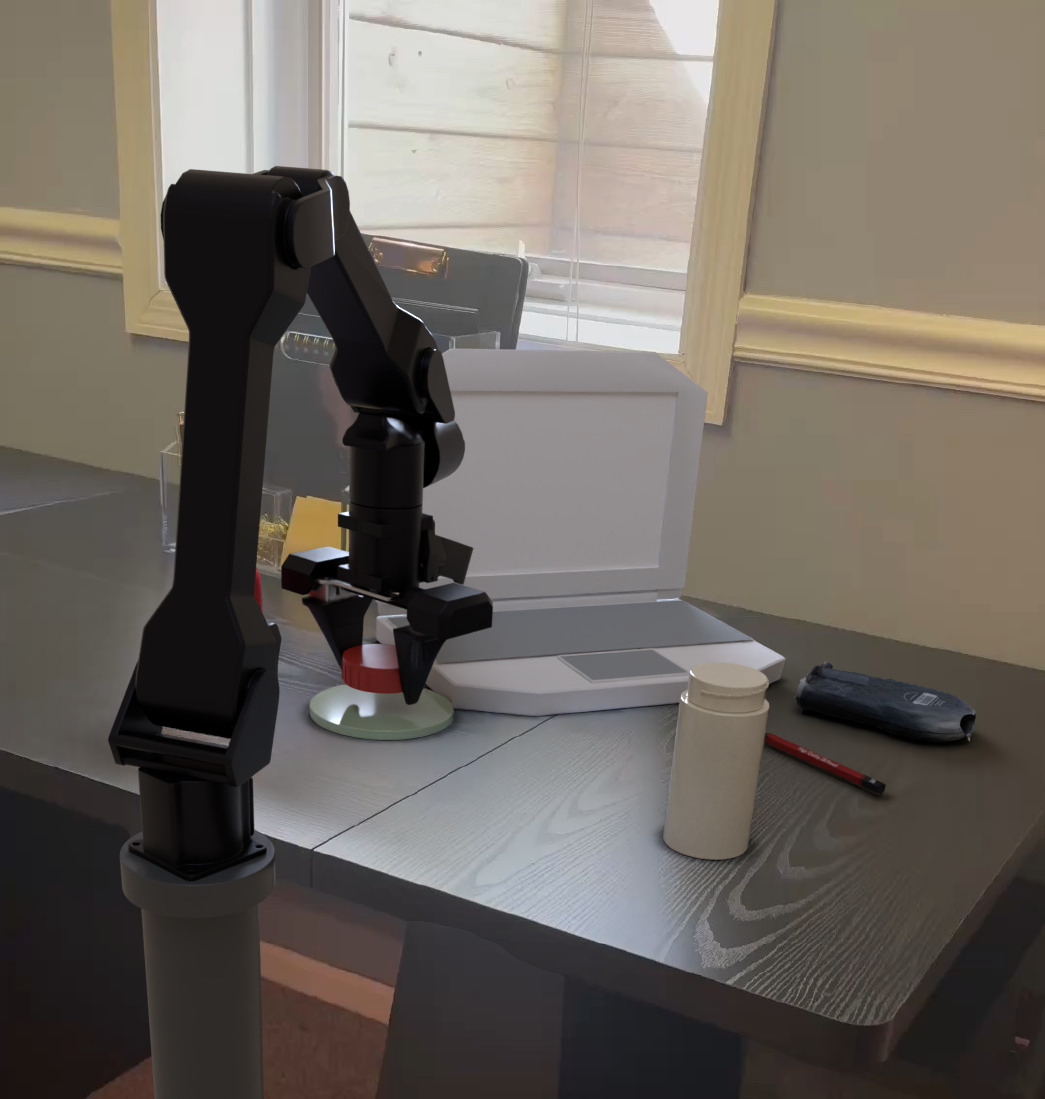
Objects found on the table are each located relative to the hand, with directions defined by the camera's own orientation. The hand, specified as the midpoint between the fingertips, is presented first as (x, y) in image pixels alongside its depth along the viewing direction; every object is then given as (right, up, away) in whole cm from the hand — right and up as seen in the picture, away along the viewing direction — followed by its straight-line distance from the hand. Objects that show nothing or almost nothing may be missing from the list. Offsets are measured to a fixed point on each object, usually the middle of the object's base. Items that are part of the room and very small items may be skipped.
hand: (382, 693), depth 118 cm
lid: (0, +2, -1) cm, 3 cm away
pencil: (+35, -6, -3) cm, 36 cm away
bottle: (+25, -13, -18) cm, 33 cm away
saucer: (0, -2, +1) cm, 2 cm away
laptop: (+17, +5, +16) cm, 24 cm away
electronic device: (+44, -1, +8) cm, 45 cm away
